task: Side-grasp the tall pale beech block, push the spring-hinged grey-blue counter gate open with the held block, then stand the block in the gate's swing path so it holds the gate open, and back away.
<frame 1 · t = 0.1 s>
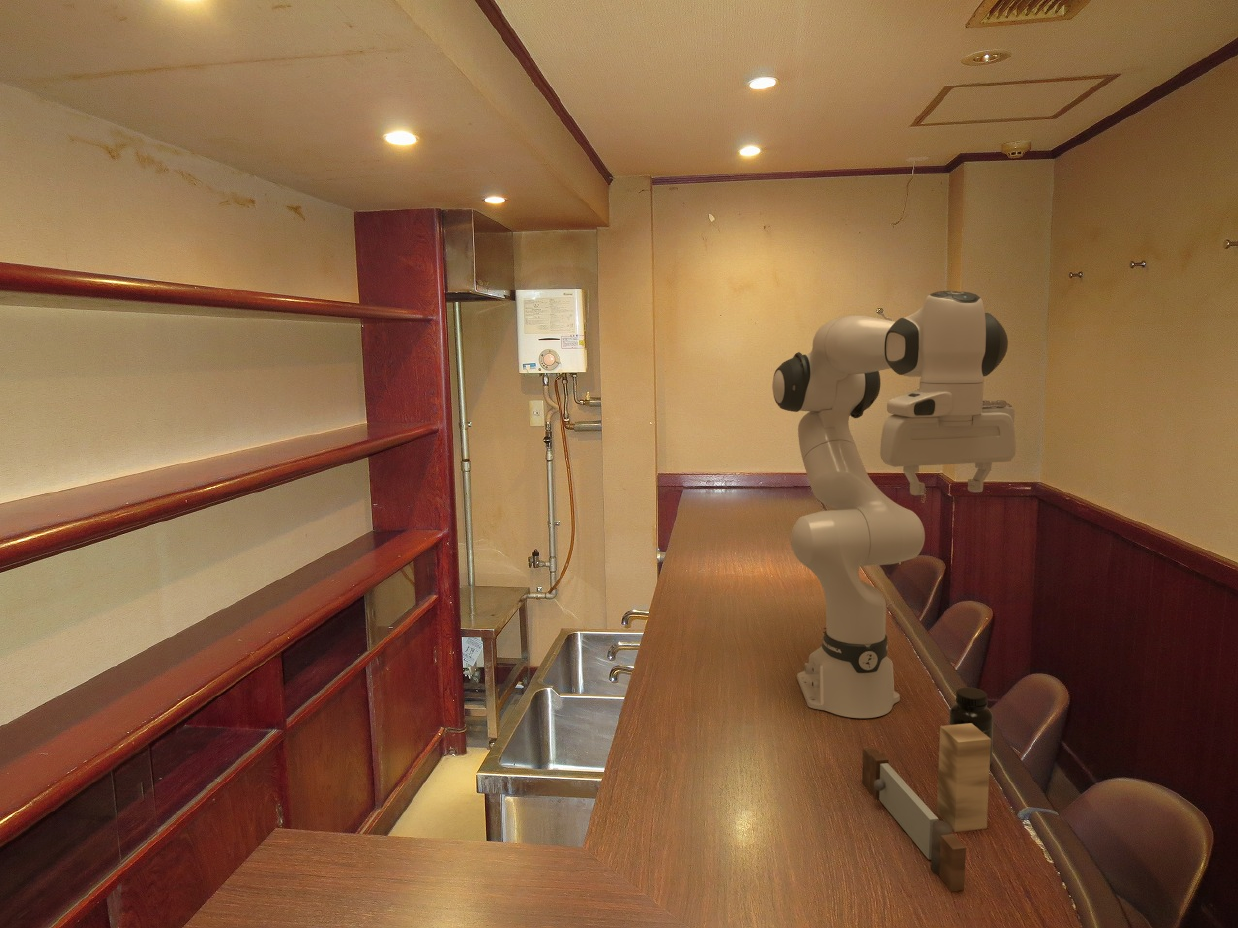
hand: (946, 493, 124), 48 cm above the counter, tool pointing down, fingers open, 8 cm apart
gate: (901, 808, 119), point 3 cm above the counter, hinge at 0.0°
supplement bottle: (969, 760, 139), on the counter
gate frame: (940, 869, 111), on the counter
beech block: (961, 820, 122), on the counter
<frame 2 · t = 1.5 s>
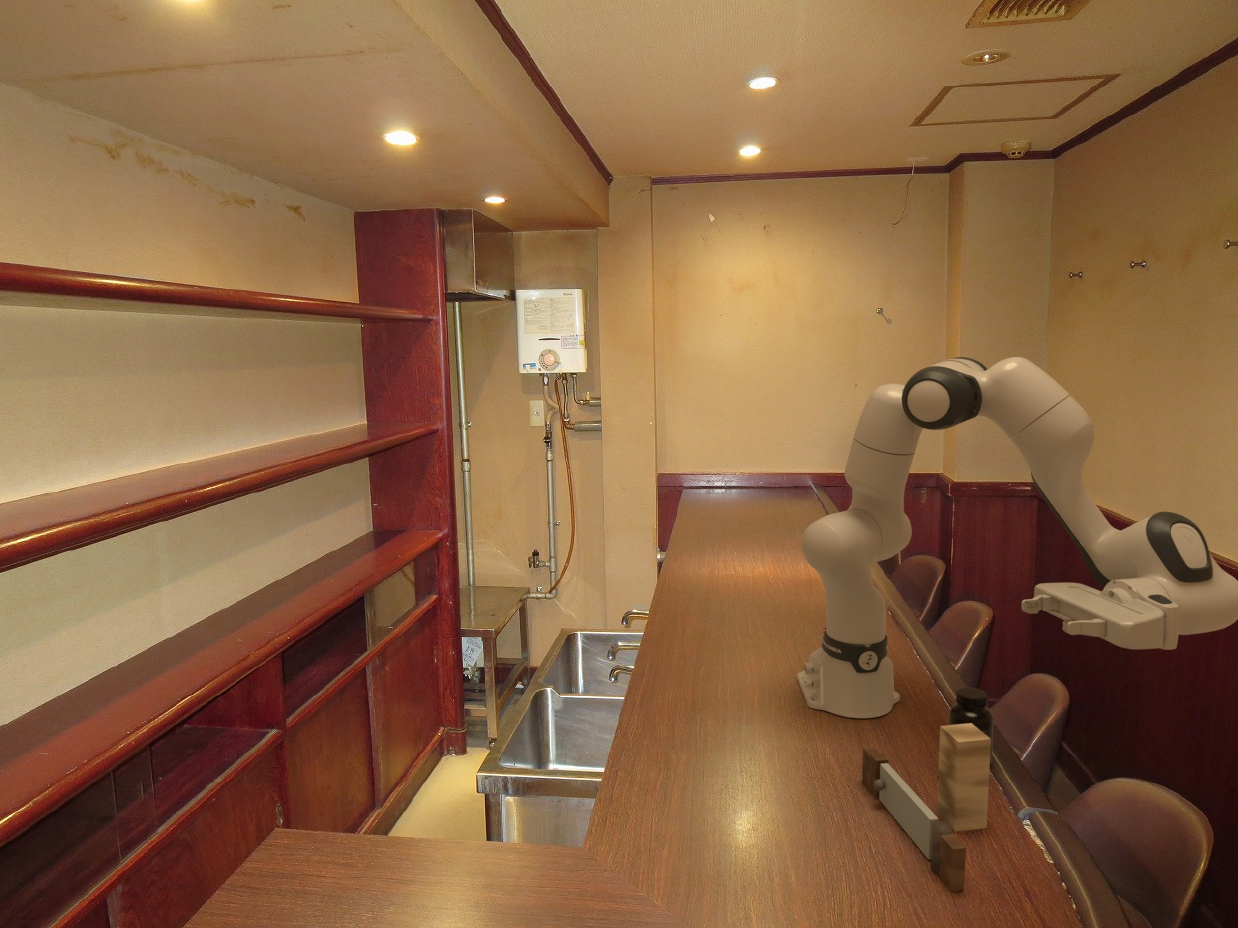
hand: (1044, 616, 119), 31 cm above the counter, tool horizontal, fingers open, 8 cm apart
nothing on the counter moved.
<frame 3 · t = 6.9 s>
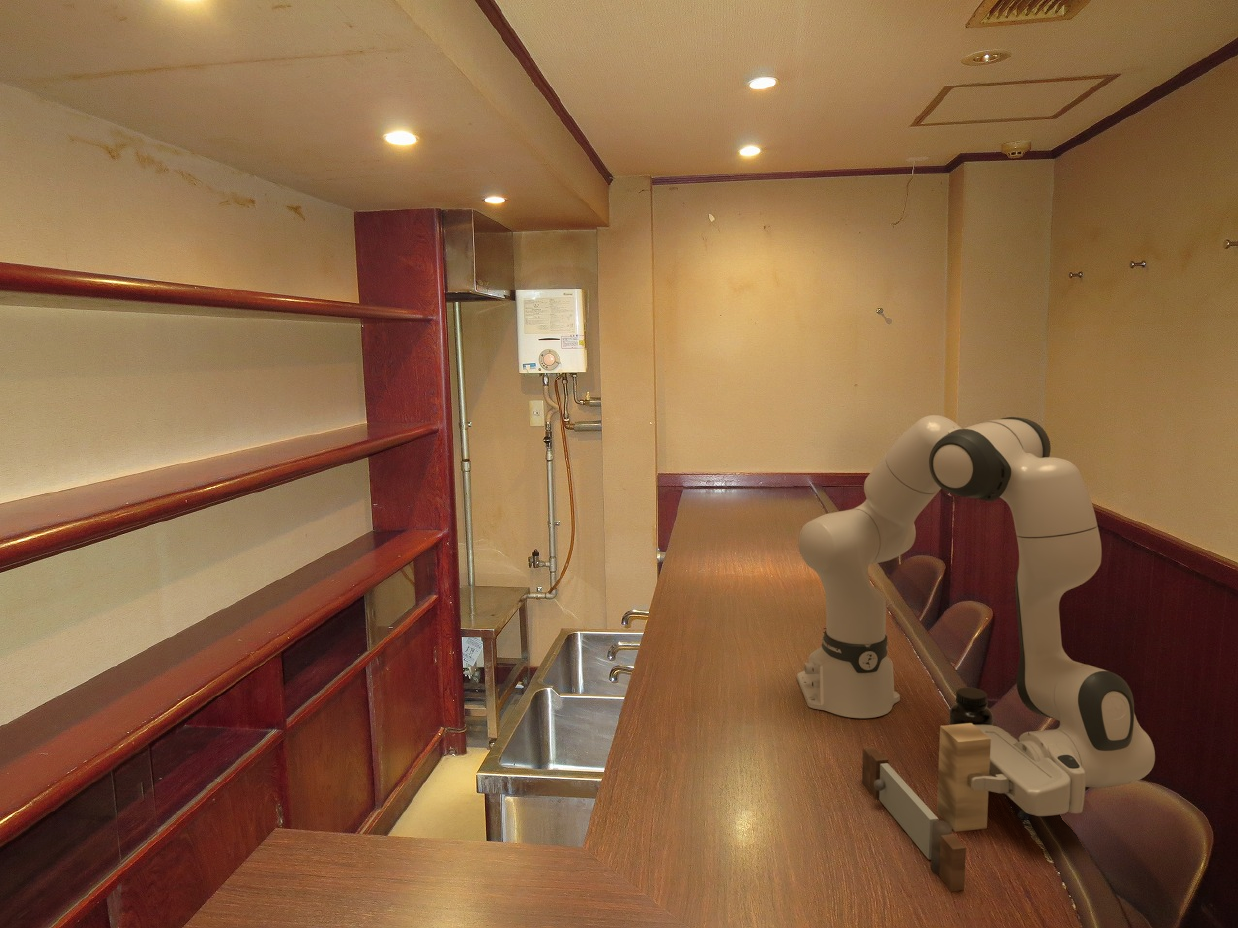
hand: (957, 770, 120), 8 cm above the counter, tool horizontal, fingers closed on beech block, 5 cm apart
beech block: (961, 820, 122), on the counter, touching gripper
everything else where it was.
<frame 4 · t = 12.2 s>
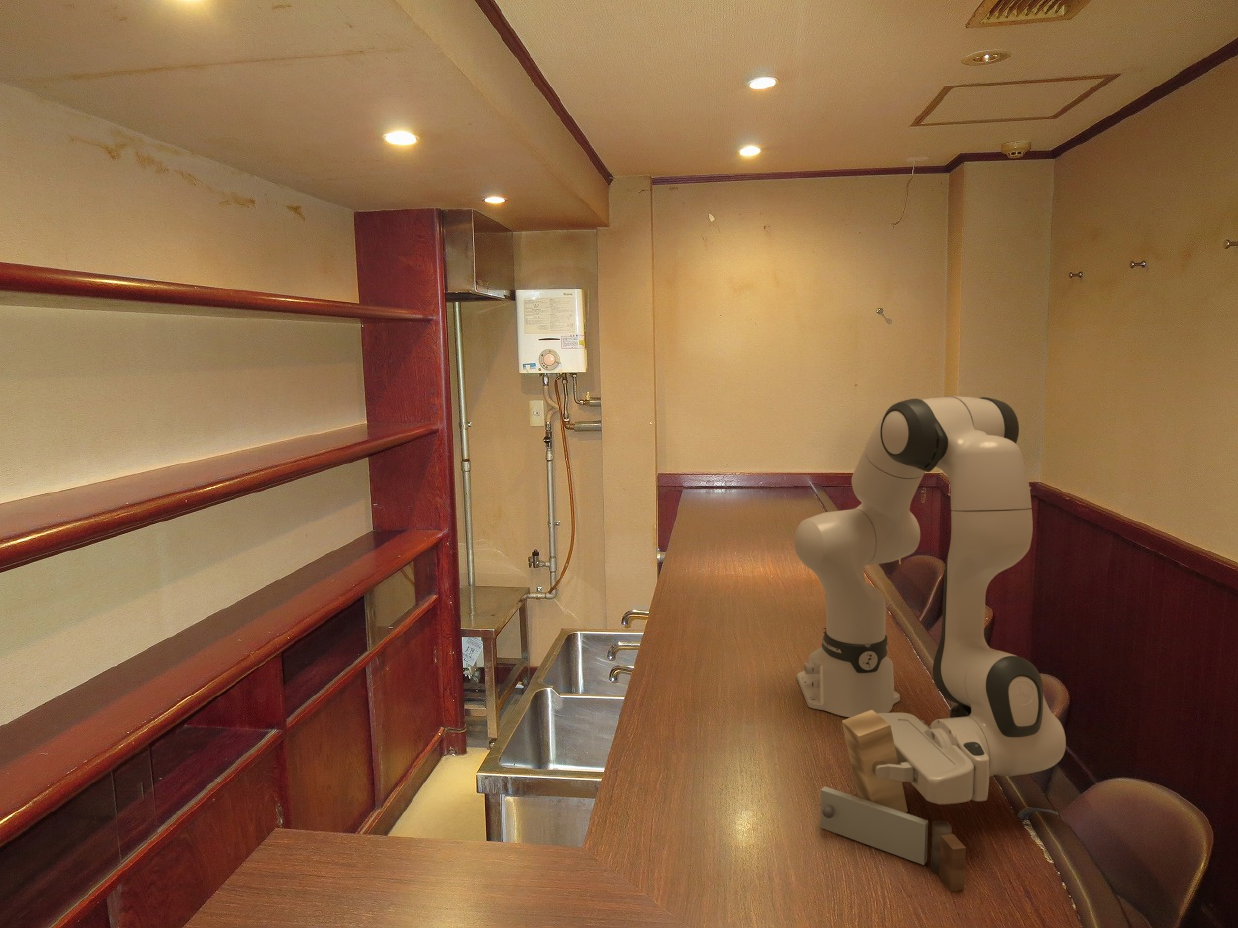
hand: (864, 758, 118), 11 cm above the counter, tool horizontal, fingers closed on beech block, 5 cm apart
gate: (870, 826, 115), point 3 cm above the counter, hinge at 44.5°, touching beech block
beech block: (883, 807, 120), point 3 cm above the counter, tilted 13°, touching gate, gripper
everything else where it was.
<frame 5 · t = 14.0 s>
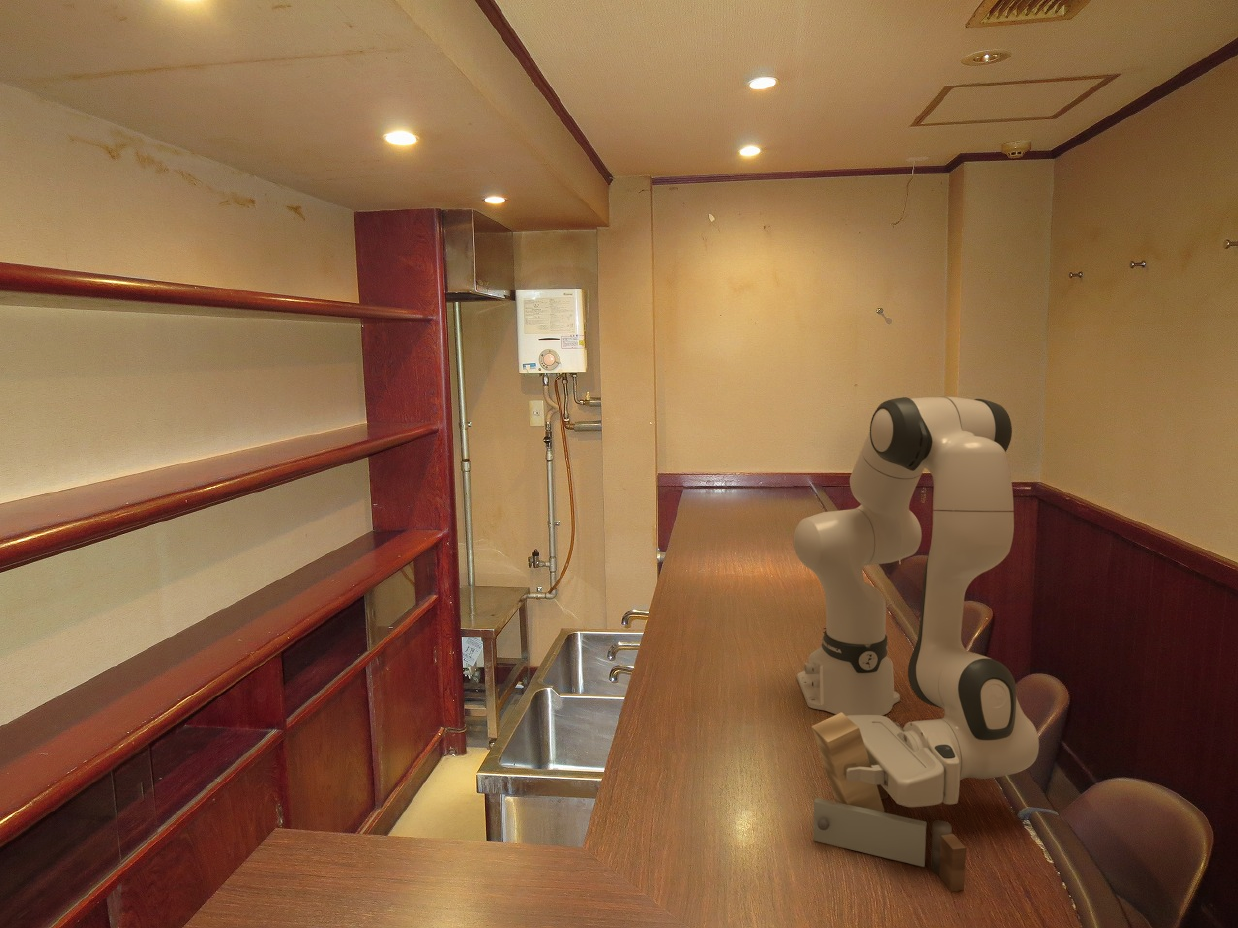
hand: (836, 761, 117), 11 cm above the counter, tool horizontal, fingers closed on beech block, 5 cm apart
gate: (867, 834, 114), point 3 cm above the counter, hinge at 56.3°
beech block: (860, 808, 119), point 3 cm above the counter, tilted 18°, touching gripper
everything else where it was.
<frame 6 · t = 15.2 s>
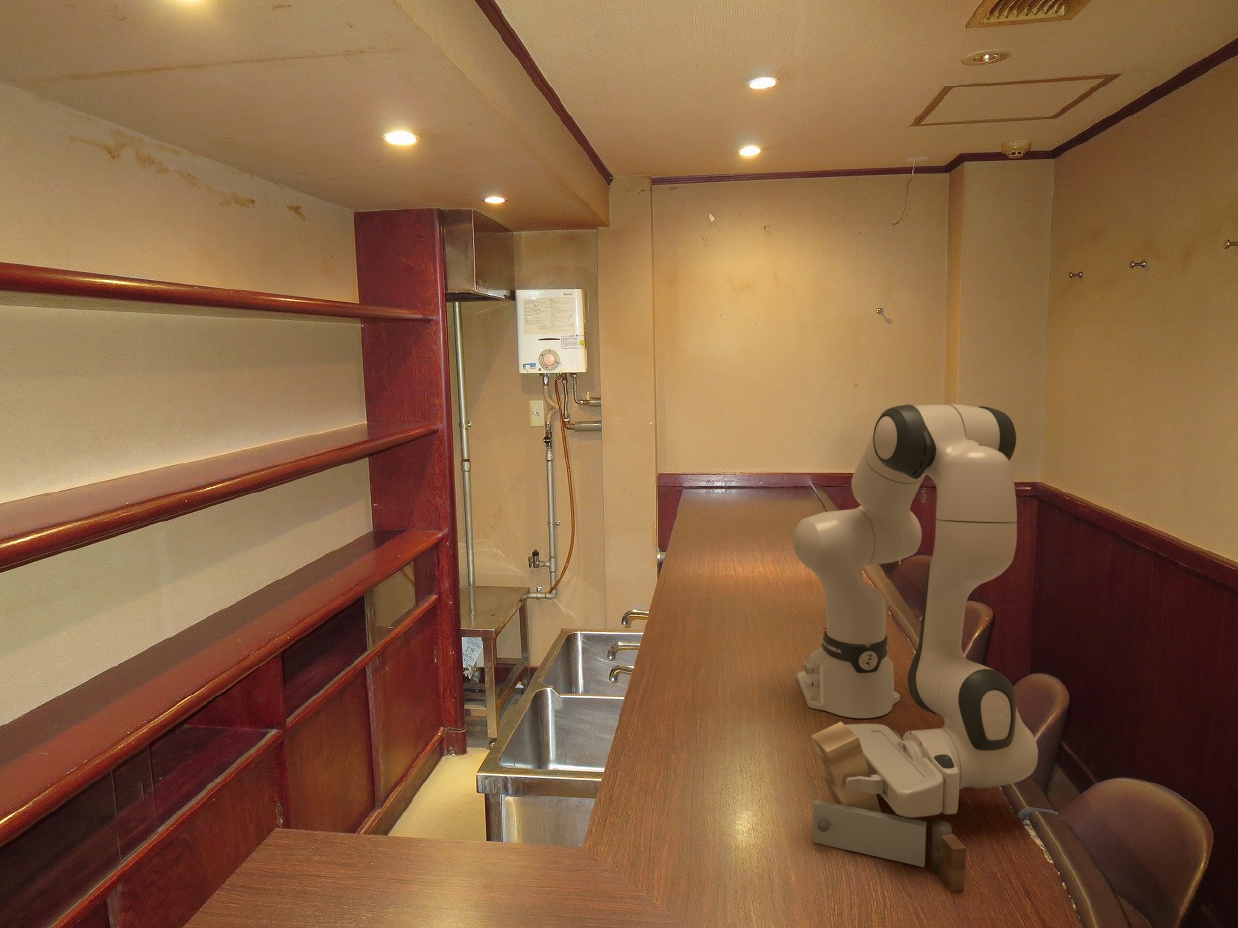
hand: (835, 770, 117), 10 cm above the counter, tool horizontal, fingers closed on beech block, 5 cm apart
gate: (867, 835, 113), point 3 cm above the counter, hinge at 57.7°
beech block: (859, 818, 119), point 2 cm above the counter, tilted 18°, touching gripper
everything else where it was.
when the fingers open (10 cm above the counter, at t = 15.4 s): beech block drops 2 cm, on the counter.
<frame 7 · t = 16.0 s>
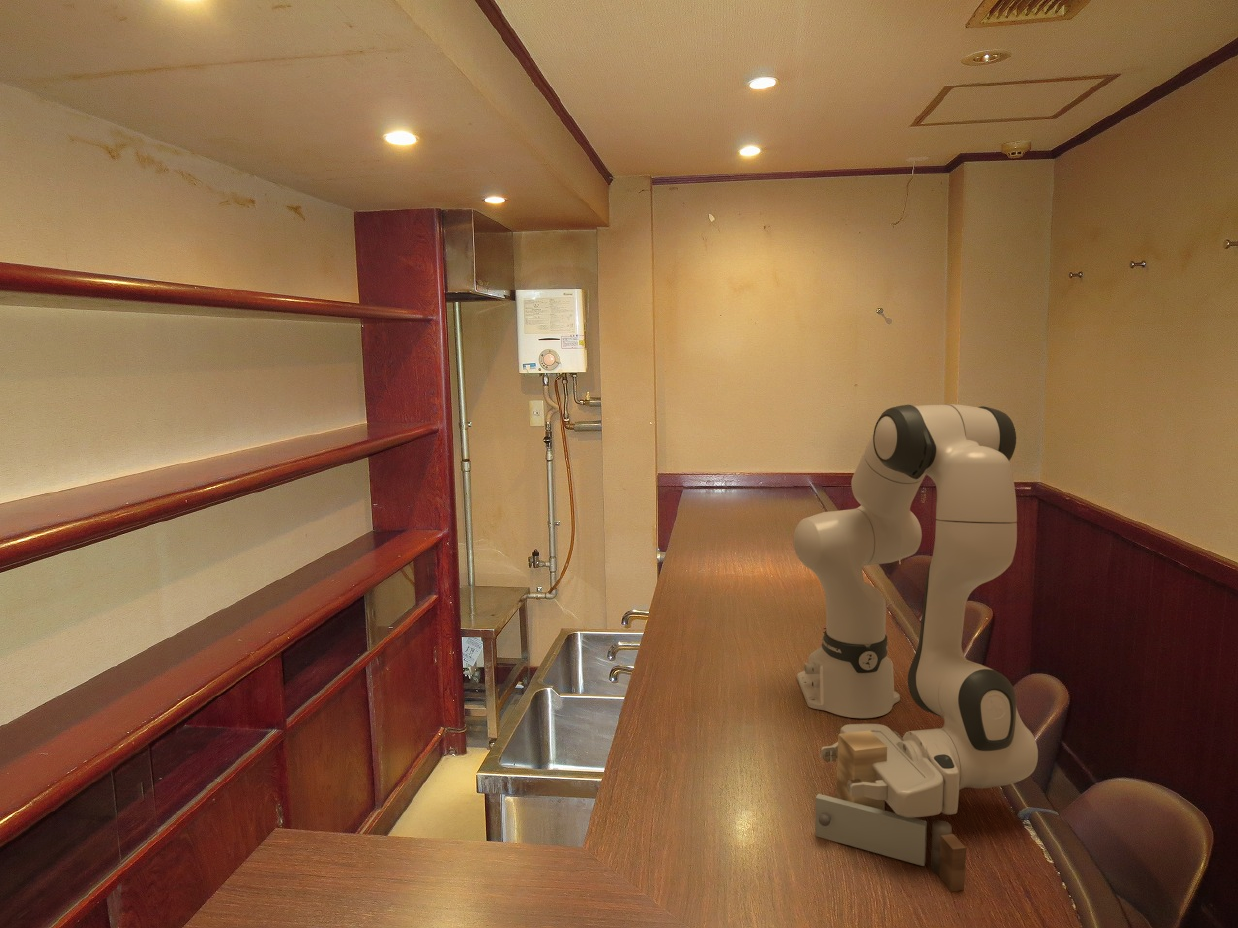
hand: (835, 770, 117), 10 cm above the counter, tool horizontal, fingers open, 8 cm apart
gate: (868, 831, 114), point 3 cm above the counter, hinge at 52.3°
beech block: (858, 829, 120), on the counter
everything else where it was.
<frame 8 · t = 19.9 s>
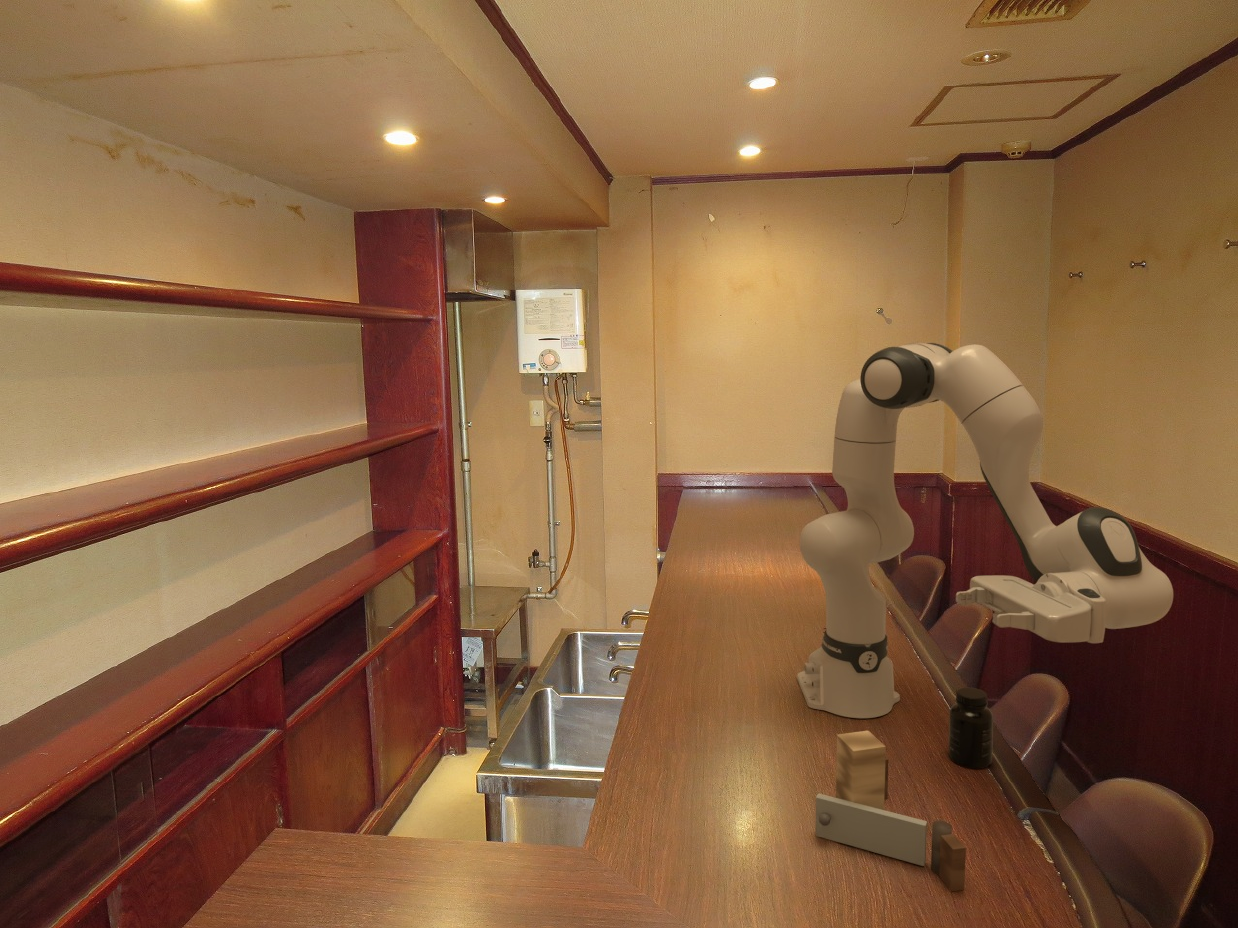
hand: (976, 609, 119), 32 cm above the counter, tool horizontal, fingers open, 8 cm apart
nothing on the counter moved.
at the end: gate at +52° (first picture: +0°); beech block inside the target area (3.6 cm from its centre), on the counter; beech block tilted 0° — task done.
